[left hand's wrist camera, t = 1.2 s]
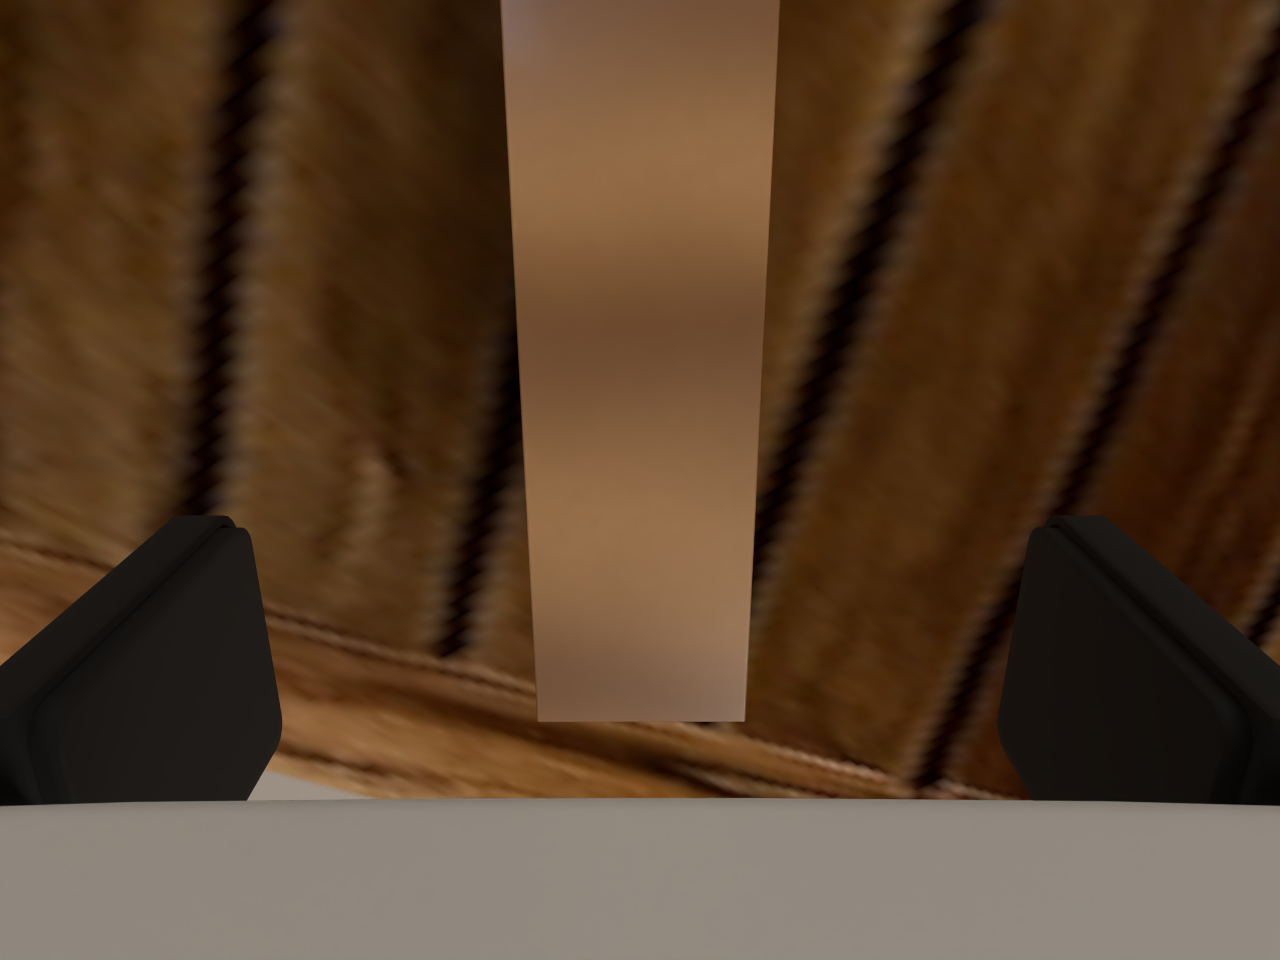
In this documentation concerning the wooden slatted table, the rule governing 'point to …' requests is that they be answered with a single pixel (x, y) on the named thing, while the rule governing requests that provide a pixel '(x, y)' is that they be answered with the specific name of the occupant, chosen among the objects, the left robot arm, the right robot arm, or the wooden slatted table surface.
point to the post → (640, 343)
